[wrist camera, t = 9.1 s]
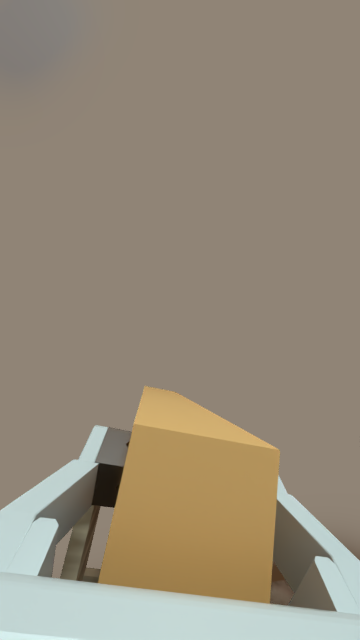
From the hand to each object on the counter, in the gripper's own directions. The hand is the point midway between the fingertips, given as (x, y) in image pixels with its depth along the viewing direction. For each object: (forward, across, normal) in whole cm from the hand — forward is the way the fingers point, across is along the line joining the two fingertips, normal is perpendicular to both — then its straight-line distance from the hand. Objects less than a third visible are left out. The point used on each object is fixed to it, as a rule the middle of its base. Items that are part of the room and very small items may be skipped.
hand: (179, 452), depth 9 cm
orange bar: (+6, 0, +6) cm, 9 cm away
